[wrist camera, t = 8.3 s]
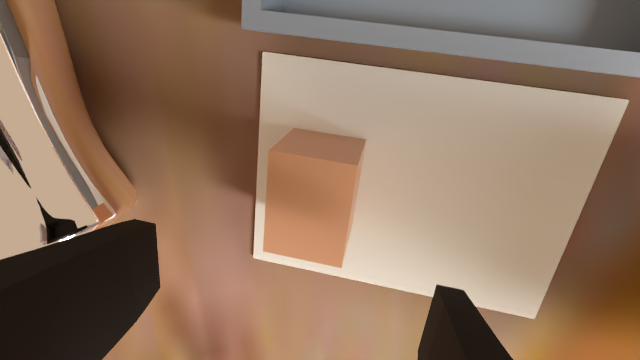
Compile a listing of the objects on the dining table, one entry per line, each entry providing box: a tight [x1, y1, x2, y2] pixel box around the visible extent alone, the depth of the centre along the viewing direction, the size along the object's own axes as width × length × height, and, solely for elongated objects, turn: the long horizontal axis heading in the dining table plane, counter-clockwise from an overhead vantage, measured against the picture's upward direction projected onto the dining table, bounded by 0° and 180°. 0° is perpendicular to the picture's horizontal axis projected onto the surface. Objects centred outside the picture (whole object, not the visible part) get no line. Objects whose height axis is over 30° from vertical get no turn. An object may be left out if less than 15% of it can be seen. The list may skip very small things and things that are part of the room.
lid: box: [253, 51, 629, 319], centre depth 14 cm, size 13×10×4 cm
